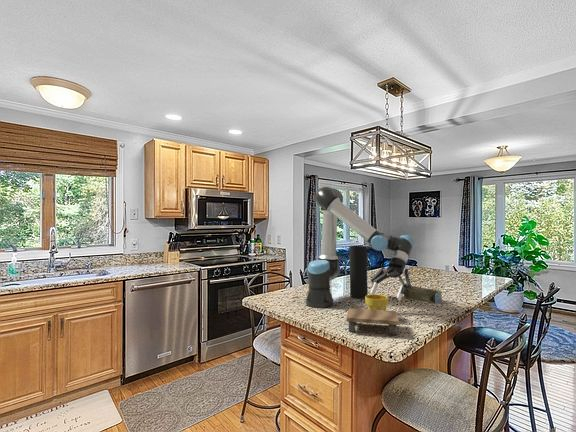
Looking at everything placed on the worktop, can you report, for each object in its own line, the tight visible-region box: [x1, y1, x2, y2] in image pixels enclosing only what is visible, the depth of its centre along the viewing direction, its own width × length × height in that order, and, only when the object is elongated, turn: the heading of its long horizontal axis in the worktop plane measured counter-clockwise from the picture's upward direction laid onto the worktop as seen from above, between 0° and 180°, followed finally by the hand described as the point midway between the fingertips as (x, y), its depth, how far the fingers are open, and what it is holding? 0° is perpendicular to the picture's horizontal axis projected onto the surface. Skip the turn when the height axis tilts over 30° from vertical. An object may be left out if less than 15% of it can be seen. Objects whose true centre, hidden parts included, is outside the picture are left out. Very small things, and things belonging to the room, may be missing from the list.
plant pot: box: [364, 293, 389, 311], centre depth 144 cm, size 10×10×10 cm
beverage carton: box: [403, 285, 443, 305], centre depth 177 cm, size 8×19×7 cm, turn 38°
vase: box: [348, 245, 369, 300], centre depth 186 cm, size 10×10×30 cm
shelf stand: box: [345, 307, 400, 337], centre depth 129 cm, size 20×14×6 cm
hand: (384, 296), depth 147 cm, fingers open, 13 cm apart
